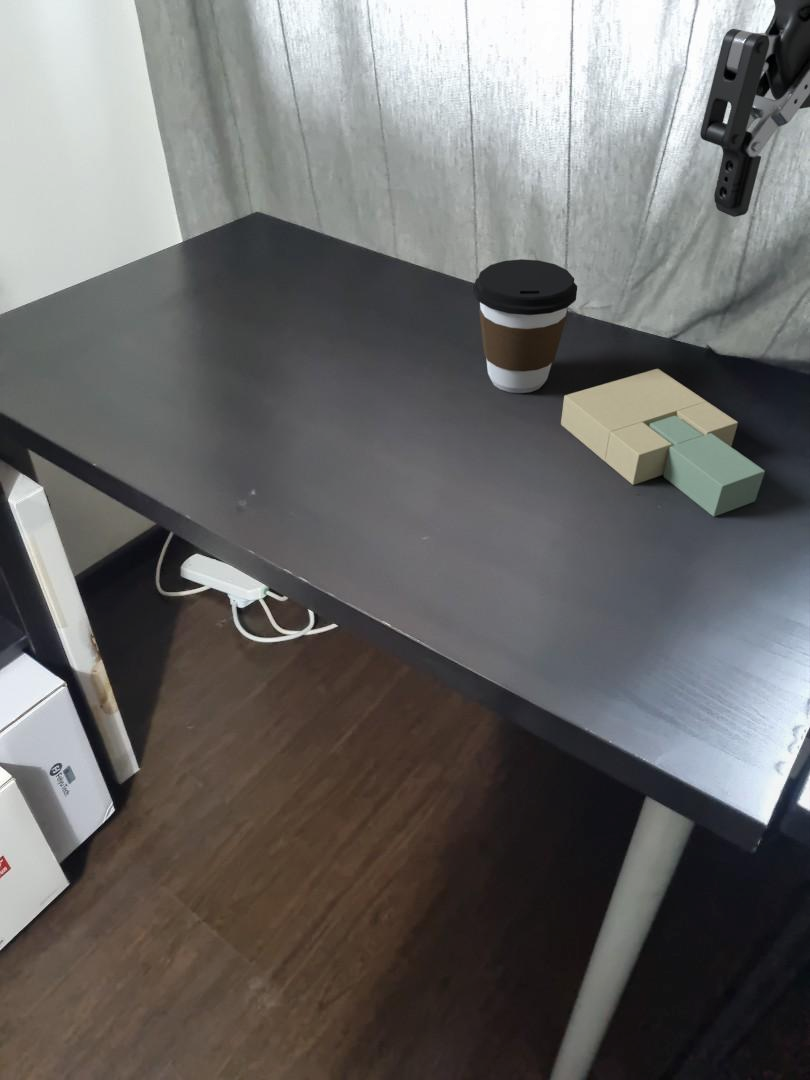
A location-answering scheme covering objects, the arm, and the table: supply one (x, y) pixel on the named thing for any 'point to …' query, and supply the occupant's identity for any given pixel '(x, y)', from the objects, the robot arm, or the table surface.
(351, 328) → the table surface
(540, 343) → the coffee cup
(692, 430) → the pad
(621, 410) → the notch pad
